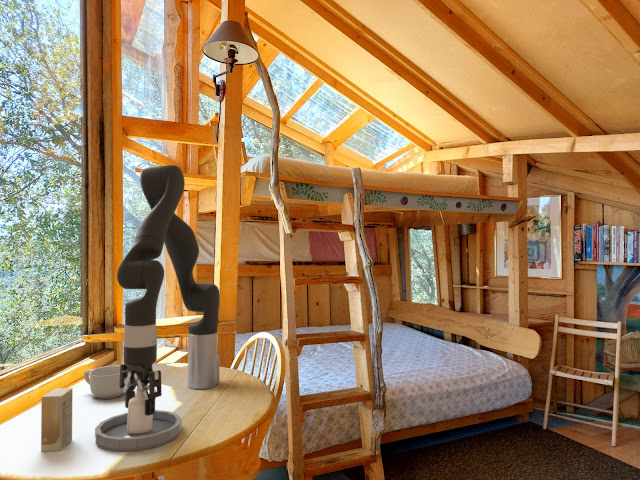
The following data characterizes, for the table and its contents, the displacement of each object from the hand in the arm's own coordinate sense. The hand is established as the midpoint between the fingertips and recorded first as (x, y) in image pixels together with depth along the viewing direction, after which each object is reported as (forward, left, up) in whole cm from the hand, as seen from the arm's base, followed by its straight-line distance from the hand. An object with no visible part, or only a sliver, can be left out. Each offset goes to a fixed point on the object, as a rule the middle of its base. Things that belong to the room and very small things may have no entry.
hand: (139, 410), depth 114 cm
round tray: (0, 0, -6) cm, 6 cm away
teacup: (-11, -37, -6) cm, 39 cm away
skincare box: (+15, -9, -6) cm, 18 cm away
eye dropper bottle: (0, 0, -5) cm, 5 cm away
